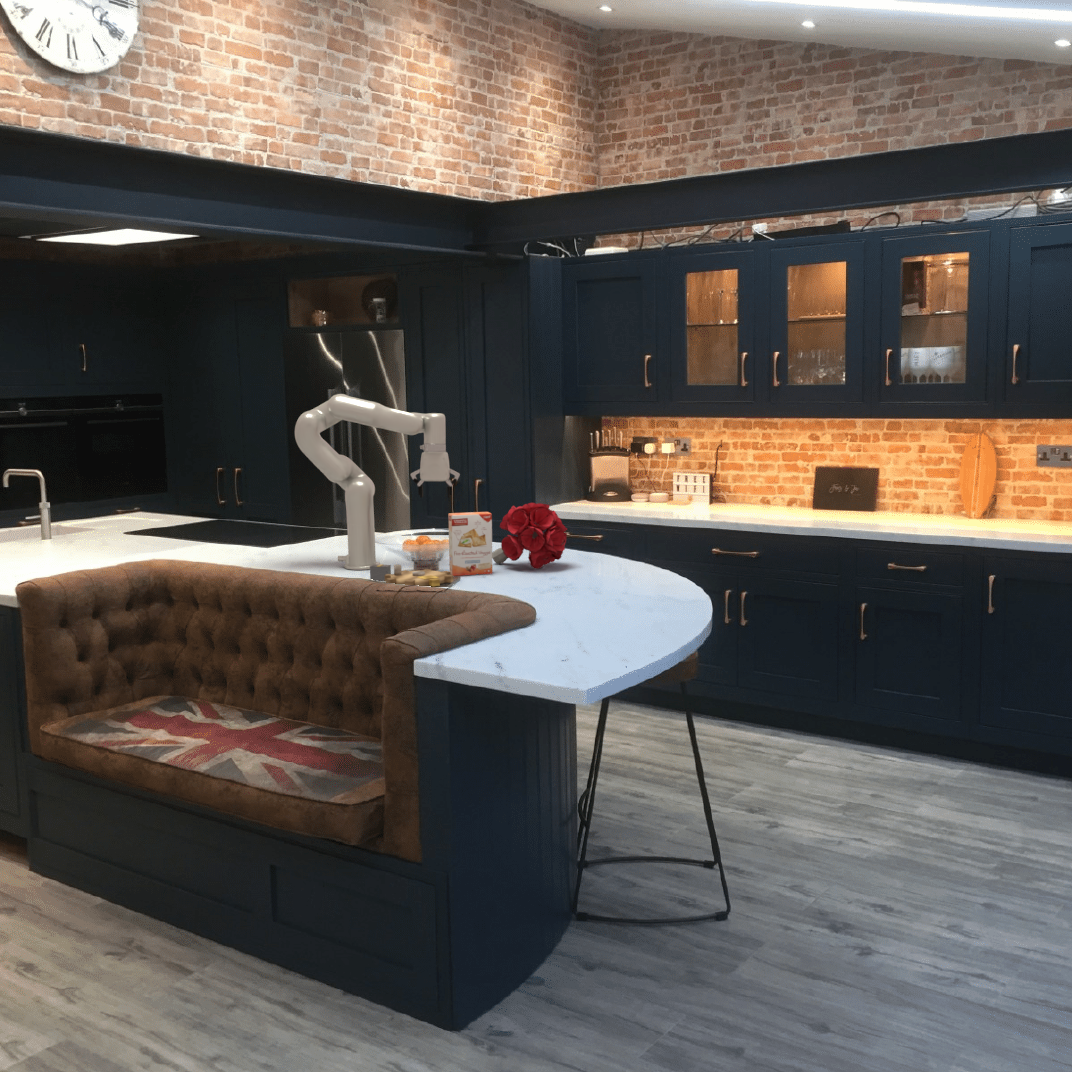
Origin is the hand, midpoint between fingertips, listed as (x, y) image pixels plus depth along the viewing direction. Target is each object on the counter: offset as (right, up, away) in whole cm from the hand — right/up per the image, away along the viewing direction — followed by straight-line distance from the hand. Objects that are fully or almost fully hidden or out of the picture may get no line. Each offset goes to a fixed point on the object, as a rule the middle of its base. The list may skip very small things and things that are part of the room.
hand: (435, 497), depth 413 cm
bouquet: (+33, -25, -3) cm, 41 cm away
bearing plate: (-2, -30, -35) cm, 46 cm away
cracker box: (+14, -27, -15) cm, 34 cm away
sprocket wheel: (-2, -28, -35) cm, 45 cm away
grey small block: (-16, -28, -24) cm, 40 cm away
